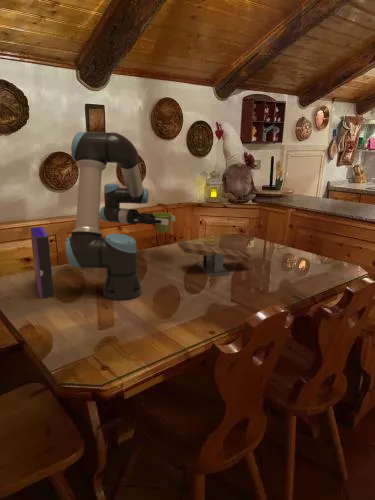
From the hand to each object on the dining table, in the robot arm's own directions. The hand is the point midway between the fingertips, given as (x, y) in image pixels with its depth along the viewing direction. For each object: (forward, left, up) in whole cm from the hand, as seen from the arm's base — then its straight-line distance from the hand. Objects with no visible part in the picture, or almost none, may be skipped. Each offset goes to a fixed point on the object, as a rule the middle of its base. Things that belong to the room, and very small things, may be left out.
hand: (171, 220), depth 173 cm
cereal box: (-21, +58, -22) cm, 66 cm away
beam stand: (-13, -17, -22) cm, 31 cm away
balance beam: (-13, -17, -14) cm, 26 cm away
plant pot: (+3, +4, -6) cm, 8 cm away
